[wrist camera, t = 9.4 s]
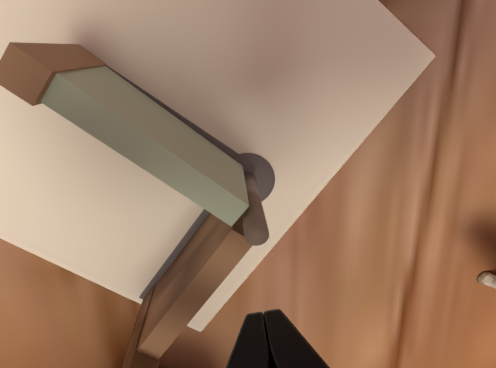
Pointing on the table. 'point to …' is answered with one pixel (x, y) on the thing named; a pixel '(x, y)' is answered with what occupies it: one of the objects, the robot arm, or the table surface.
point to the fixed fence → (194, 279)
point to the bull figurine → (487, 279)
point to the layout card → (194, 122)
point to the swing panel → (126, 122)
